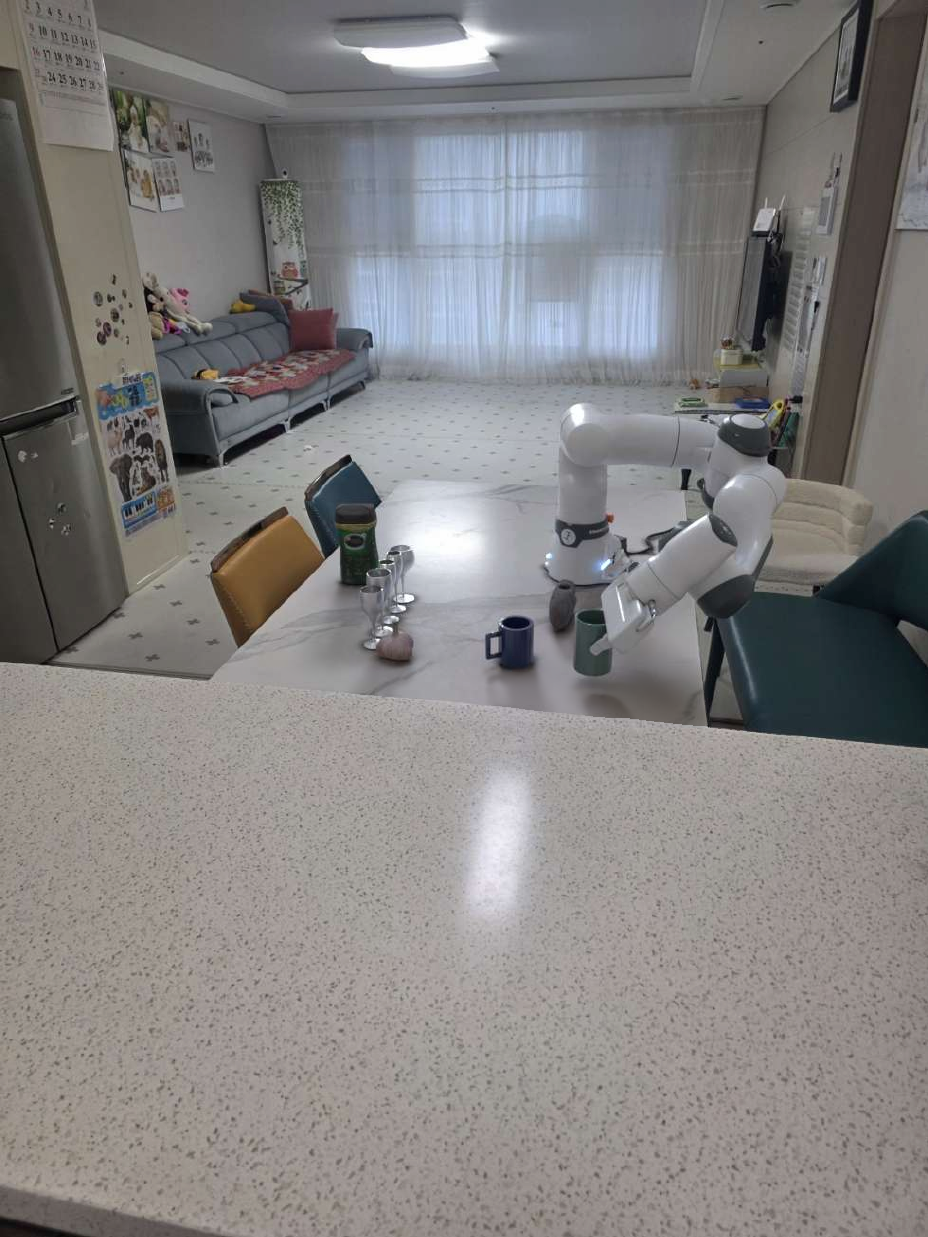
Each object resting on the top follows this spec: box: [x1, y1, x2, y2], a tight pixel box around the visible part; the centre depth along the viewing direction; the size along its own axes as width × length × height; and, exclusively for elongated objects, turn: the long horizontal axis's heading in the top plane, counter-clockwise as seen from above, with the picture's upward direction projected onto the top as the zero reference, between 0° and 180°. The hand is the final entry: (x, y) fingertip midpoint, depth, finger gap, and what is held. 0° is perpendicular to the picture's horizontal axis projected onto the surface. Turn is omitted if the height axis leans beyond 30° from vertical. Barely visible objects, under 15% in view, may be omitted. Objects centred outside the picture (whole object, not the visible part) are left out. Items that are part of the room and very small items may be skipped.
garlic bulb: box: [375, 620, 414, 661], centre depth 158 cm, size 8×7×8 cm
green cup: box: [572, 608, 614, 678], centre depth 146 cm, size 7×7×10 cm
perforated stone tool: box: [548, 579, 578, 631], centre depth 171 cm, size 15×5×7 cm, turn 164°
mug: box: [484, 614, 535, 670], centre depth 155 cm, size 10×7×8 cm
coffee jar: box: [334, 502, 380, 585], centre depth 192 cm, size 10×8×19 cm
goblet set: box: [358, 544, 416, 650], centre depth 172 cm, size 28×6×13 cm, turn 169°
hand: (590, 640), depth 146 cm, fingers closed on green cup, 7 cm apart
